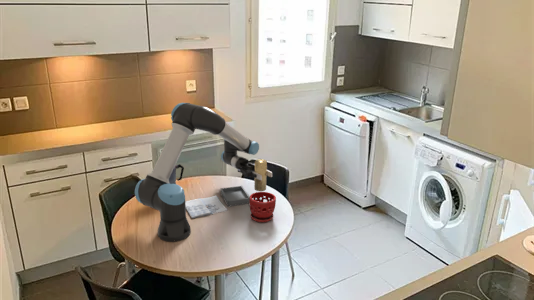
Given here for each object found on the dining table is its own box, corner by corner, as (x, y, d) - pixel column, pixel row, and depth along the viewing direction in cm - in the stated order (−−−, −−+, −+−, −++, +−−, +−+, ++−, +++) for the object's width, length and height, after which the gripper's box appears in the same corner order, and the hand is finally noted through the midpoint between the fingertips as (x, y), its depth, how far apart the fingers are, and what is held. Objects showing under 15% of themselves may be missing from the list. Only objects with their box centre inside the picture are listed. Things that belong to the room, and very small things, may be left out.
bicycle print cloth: (181, 203, 228) (181, 200, 227) (217, 197, 236) (217, 193, 235) (191, 220, 212) (191, 216, 211) (229, 212, 220) (229, 208, 219)
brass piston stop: (267, 190, 227) (268, 162, 222) (256, 191, 225) (256, 164, 220) (263, 185, 233) (264, 158, 227) (252, 187, 231) (253, 159, 225)
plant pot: (272, 225, 207) (273, 203, 202) (246, 222, 209) (246, 201, 205) (277, 213, 219) (278, 192, 214) (252, 210, 221) (252, 189, 217)
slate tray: (250, 203, 228) (250, 198, 227) (228, 206, 224) (228, 201, 223) (242, 190, 243) (242, 185, 242) (220, 193, 239) (220, 188, 238)
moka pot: (155, 194, 236) (152, 161, 229) (183, 189, 243) (180, 157, 236) (159, 201, 228) (156, 167, 221) (187, 196, 235) (185, 163, 228)
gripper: (254, 165, 246) (280, 178, 229) (226, 173, 234) (251, 187, 218) (254, 153, 243) (280, 165, 227) (226, 160, 232) (252, 174, 215)
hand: (266, 176), depth 222 cm, fingers closed on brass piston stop, 6 cm apart
